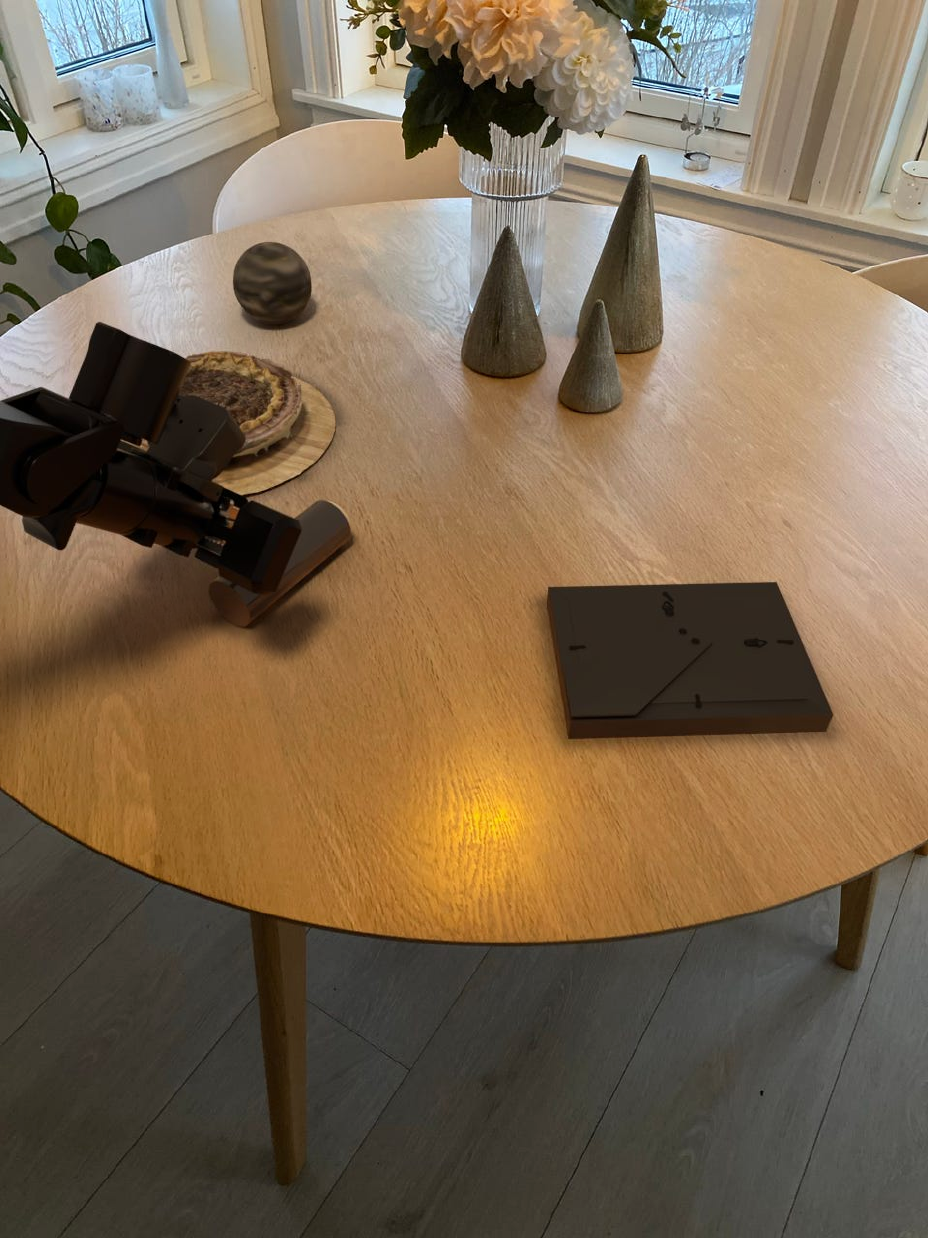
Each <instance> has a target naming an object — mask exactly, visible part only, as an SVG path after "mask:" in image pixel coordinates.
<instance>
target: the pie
mask: <svg viewBox="0 0 928 1238" xmlns="http://www.w3.org/2000/svg"><path fill="white" fill-rule="evenodd" d="M184 358H185V359H187V360H188V361H190V362H191V365H190V368H189V370H188V372H187V375H186V377H185V380H184V382H183V385H182V387H181V389H180V392H179V394H180V395H182V396H188V395H195V396H198V397H200V398H202V399H205V400H207V401H210V402H212V403H215V404H217V405H220V406H222V407H224V408H226V409H227V411H228V412H229V413H230V415H231V416H232V418H233V419H234V420H235V422H236V423H237V424H238V426H239V427H240V429H241V430H242V431H243V433H244V434H245V436H246V441H245V443H244V445H243V447H242V448H241V449H240V450H238V451H237V452H236V453H235V454H234V456H233V457H232V459H231V460H230V461H229V463H228V464H227V465H226V467H225V468H224V470H223V471H222V472H221V474H220V475H219V476H218V477H216V478H214V479H213V480H212V482H215V483H217V484H219V485H222V486H224V488H227V489H229V490H231V491H233V492H235V493H238V494H240V495H242V496H244V495H248V494H255V493H260V492H262V491H265V490H268V489H270V488H273V487H275V486H278V485H280V484H283V483H284V482H286V481H288V480H290V479H293V478H295V477H296V476H298V475H301V473H302V472H304V471H305V470H306V469H308V468H309V467H311V466H312V465H313V464H315V463H316V462H317V461H318V460H319V459H320V457H321V456H322V455H323V454H324V453H325V451H326V450H327V448H328V447H329V445H330V444H331V442H332V440H333V438H334V434H335V431H336V423H337V422H336V414H335V412H334V409H333V408H332V405H331V404H330V402H329V401H328V399H327V398H326V397H325V396H324V395H323V393H322V392H320V391H319V390H318V389H316V387H314V386H312V385H311V384H309V383H308V382H306V381H303V380H301V379H300V378H298V377H295V376H294V375H293V373H292V372H291V370H289V369H287V368H286V367H285V366H284V365H280V364H279V363H277V362H275V361H273V360H271V359H269V358H268V359H267V358H260V357H256V356H255V355H251V354H250V355H248V354H247V353H244V352H241V351H230V350H218V351H216V350H211V351H206V352H201V353H192V354H188V355H187V356H186V357H184ZM142 440H143V441H142V443H141V446H140V447H139V446H136V445H134V444H132V445H134V446H136V447H139V448H141V449H143V450H145V451H147V450H148V448H149V445H148V443H147V440H144V439H142ZM121 441H124V440H121ZM124 442H126V441H124ZM126 443H129V442H126ZM129 444H131V443H129Z"/></svg>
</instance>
